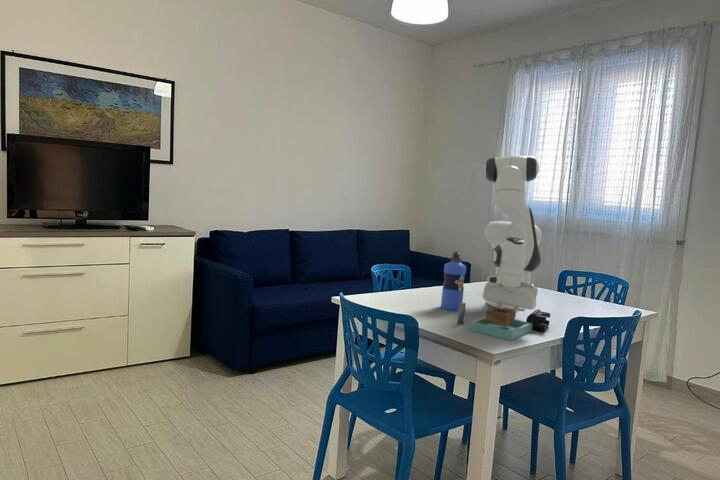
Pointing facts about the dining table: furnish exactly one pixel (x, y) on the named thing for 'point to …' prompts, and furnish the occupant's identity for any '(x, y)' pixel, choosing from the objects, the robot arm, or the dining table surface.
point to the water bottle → (453, 283)
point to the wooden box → (500, 316)
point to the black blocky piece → (539, 320)
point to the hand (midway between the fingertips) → (507, 316)
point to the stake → (461, 313)
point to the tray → (501, 328)
